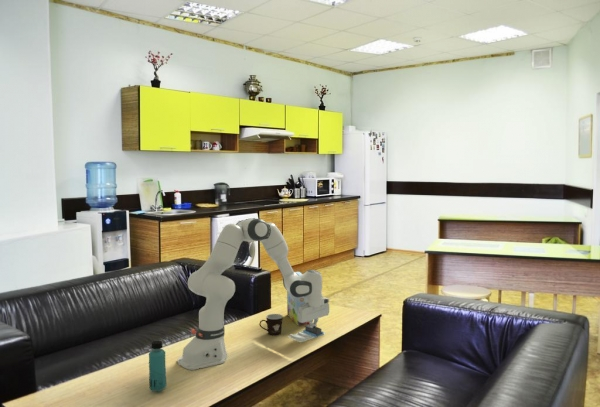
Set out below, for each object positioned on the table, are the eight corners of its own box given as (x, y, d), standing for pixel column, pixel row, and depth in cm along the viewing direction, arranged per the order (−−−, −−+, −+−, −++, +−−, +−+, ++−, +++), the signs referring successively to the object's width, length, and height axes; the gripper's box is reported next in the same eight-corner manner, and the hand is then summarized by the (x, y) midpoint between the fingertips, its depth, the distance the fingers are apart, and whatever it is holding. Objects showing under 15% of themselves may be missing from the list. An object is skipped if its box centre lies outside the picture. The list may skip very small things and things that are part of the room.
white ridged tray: (300, 344, 232) (300, 340, 232) (287, 338, 240) (287, 334, 239) (326, 335, 244) (326, 331, 244) (312, 330, 252) (312, 326, 252)
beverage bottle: (168, 387, 187) (167, 338, 186) (164, 395, 181) (163, 345, 179) (151, 387, 187) (150, 338, 185) (146, 395, 181) (145, 345, 179)
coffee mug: (283, 332, 248) (283, 314, 247) (281, 338, 239) (281, 319, 238) (262, 331, 249) (262, 313, 248) (259, 337, 241) (259, 318, 240)
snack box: (285, 314, 277) (286, 271, 274) (299, 313, 279) (300, 271, 277) (296, 327, 256) (296, 281, 254) (311, 325, 259) (312, 280, 256)
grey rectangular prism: (317, 335, 241) (317, 330, 240) (305, 331, 247) (305, 325, 247) (321, 334, 243) (321, 328, 242) (309, 329, 249) (309, 324, 249)
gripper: (303, 306, 234) (302, 333, 236) (331, 298, 248) (331, 324, 249) (294, 303, 239) (294, 330, 240) (323, 296, 253) (322, 321, 254)
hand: (313, 327), depth 245 cm, fingers closed, pressing on grey rectangular prism
